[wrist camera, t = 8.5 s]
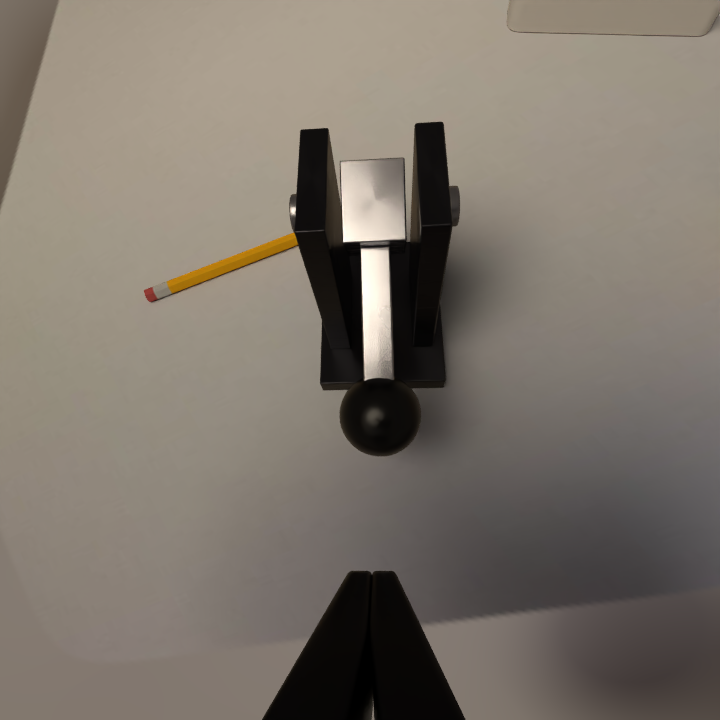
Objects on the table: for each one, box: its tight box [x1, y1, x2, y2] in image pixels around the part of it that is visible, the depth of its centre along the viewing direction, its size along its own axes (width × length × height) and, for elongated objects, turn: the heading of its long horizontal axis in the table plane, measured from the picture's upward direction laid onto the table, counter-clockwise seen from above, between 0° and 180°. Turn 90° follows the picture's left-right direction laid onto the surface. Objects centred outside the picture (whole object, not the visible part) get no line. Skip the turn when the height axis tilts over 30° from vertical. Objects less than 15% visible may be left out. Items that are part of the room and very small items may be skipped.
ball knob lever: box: [340, 158, 421, 456], centre depth 18 cm, size 10×3×3 cm, turn 0°
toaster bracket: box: [289, 122, 460, 390], centre depth 21 cm, size 8×6×10 cm
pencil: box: [144, 233, 298, 302], centre depth 27 cm, size 1×13×1 cm, turn 113°
